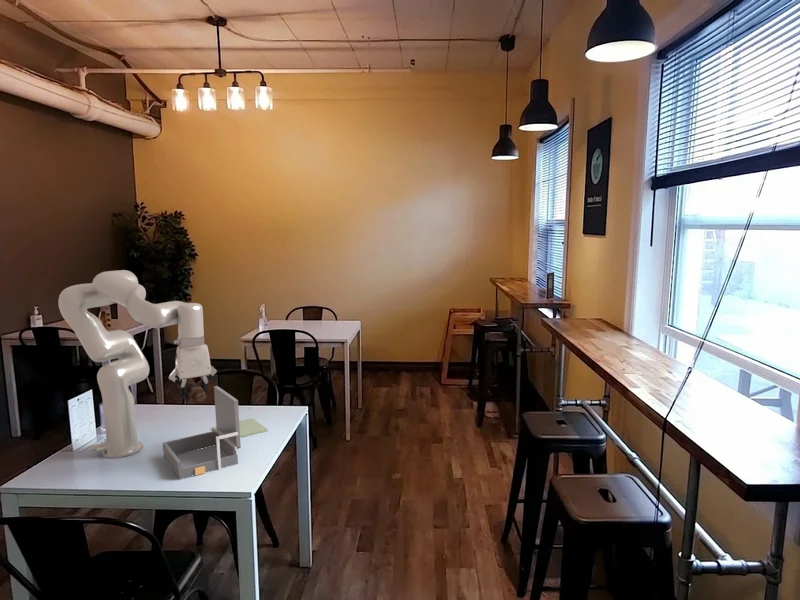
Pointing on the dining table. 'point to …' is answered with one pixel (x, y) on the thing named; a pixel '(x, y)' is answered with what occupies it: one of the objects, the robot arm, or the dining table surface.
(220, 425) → the case
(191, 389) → the bolt
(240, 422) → the mat
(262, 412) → the dining table surface
